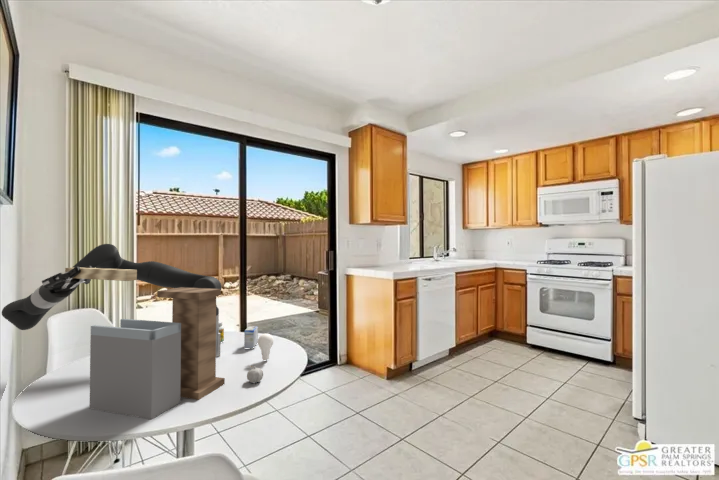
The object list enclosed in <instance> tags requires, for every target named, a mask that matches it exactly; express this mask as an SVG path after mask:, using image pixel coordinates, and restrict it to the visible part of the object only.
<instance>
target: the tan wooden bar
mask: <svg viewBox="0 0 719 480" xmlns="http://www.w3.org/2000/svg"><path fill="white" fill-rule="evenodd" d="M73 268H75V267H73V266H72V267H65V268H64V269H65V271H64V273H65V272H68V271H70V270H72V269H73ZM80 270H81V272H80V273H79V274H78V275H76V276H75V277H73V278H78V279H91V280H99V281H100V280H101V281H119V282H131V281H138V280H137V270H131V269H106V268H96V267H95V268H81V267H80Z"/></svg>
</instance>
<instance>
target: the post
mask: <svg viewBox="0 0 719 480" xmlns="http://www.w3.org/2000/svg"><path fill="white" fill-rule="evenodd" d="M156 295H157V296H156V297H157V298H159V299H160V298H164V299H172V313H171V314H172V315H171V316H172V317H171V318H172V319H171V322H174V323H181V384H180V398H185V399H191V400H192V399H193V400H199V401H200V400H201V399H203V398H205V397H206V396H207V395H209V394H211V393H212V392H214V391H216V390H217V389H219V388H220V386H221V387H222V386H224V385H225V382H226V379H225V378H224V377H220V376H218V377H217V376H216V372H217V371H216V370H217V369H216V367H217V365H216V364H217V362H216V361H217V357H216V305H217V297H218V296H221V295H222V289H209V288H184V287H181V288H169V289H163V290H157V292H156ZM223 384H224V385H223Z"/></svg>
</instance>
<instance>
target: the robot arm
mask: <svg viewBox="0 0 719 480" xmlns="http://www.w3.org/2000/svg"><path fill="white" fill-rule="evenodd" d="M72 267H75V268H73V269H72V270H70V271H68V272H65V271H64V272H58V273H56V274H54V275H52V276H50V277H47V278H45V279H43V280H41V283H42V285H40V286H39V287H37V288H36V289H35V290H34V292H32V293H31V294H30V295H28V296H27V297H24V298H21V299H17V300H15V301H11V302H10V303H8V304H7V305H4V307H3V308H2V310H1V316H2V317H3V318H4V319H5V320H7V321H8V322H9V323H11V324H12V325H13V326H14V327H16V328H17V329H18V330H21V331H27V330H30V329H32V328H34V327H36V325H38V323H40V322H41V320H42V319H43V318H44V317H45V315H46V314H47V313H48V312H49V311H50V310H51V309H52V308H53V307H54V306H56V305H58V304H60V302H62V301H64V300H65V299H67V297H69V296H71V294H73V293H74V292H75V290H76V289H78V286H79V285H80V284H83V283H84V284H85V285H89V284H90V282H91V280H92V279H78V278H73V277H75V276H76V275H78V274H79V273H80V272H81V270H80V267H81V268H106V269H131V270H137V280H136V281H140V282H144V283H147V284H150V285H153V286H154V285H155V286H157V287H161V288H169V289H174V288H181V287H184V288H209V289H221V290H222V283H221V281H220V280H219V279H218V278H217V277H214V276H212V275H211V276H210V275H209V276H208V275H203V274H197V273H194V272H190V271H187V270H184V269H181V268H178V267H175V266H173V265H170V264H166V263H163V262H159V261H153V260H151V261H144V262H133V261H130V260H127V259H124V258H122V257H121V253H120V252H119V249H118V248H117V246H115V245H114V244H111V243H103V244H99V245H97V246H96V247H94V248H92V249H91V250H90V251H89V252H88V253H87V254H85V255H84V257H82V258H81V259H80V260H79V261H78V262H77V263H75V264H74V265H73V266H72ZM219 313H220V309H219V307H218V305H217V304H216V358H217V357H220V356H221V343H220V333H219V322H220V320H219V316H220V315H219Z"/></svg>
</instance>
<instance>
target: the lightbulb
mask: <svg viewBox="0 0 719 480" xmlns="http://www.w3.org/2000/svg"><path fill="white" fill-rule="evenodd" d="M274 342H275V340H274V337H273V335H271V334H270V333H263V334H261V335H260V336H258V344H257V346H258V347H259V349H260V350H261V351H260V352H261V356H262V357H261V358H262V359H263V360H262V361H264V360H267V359H270V353H271V349H272V347H273V345H274ZM267 361H268V360H267Z"/></svg>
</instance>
